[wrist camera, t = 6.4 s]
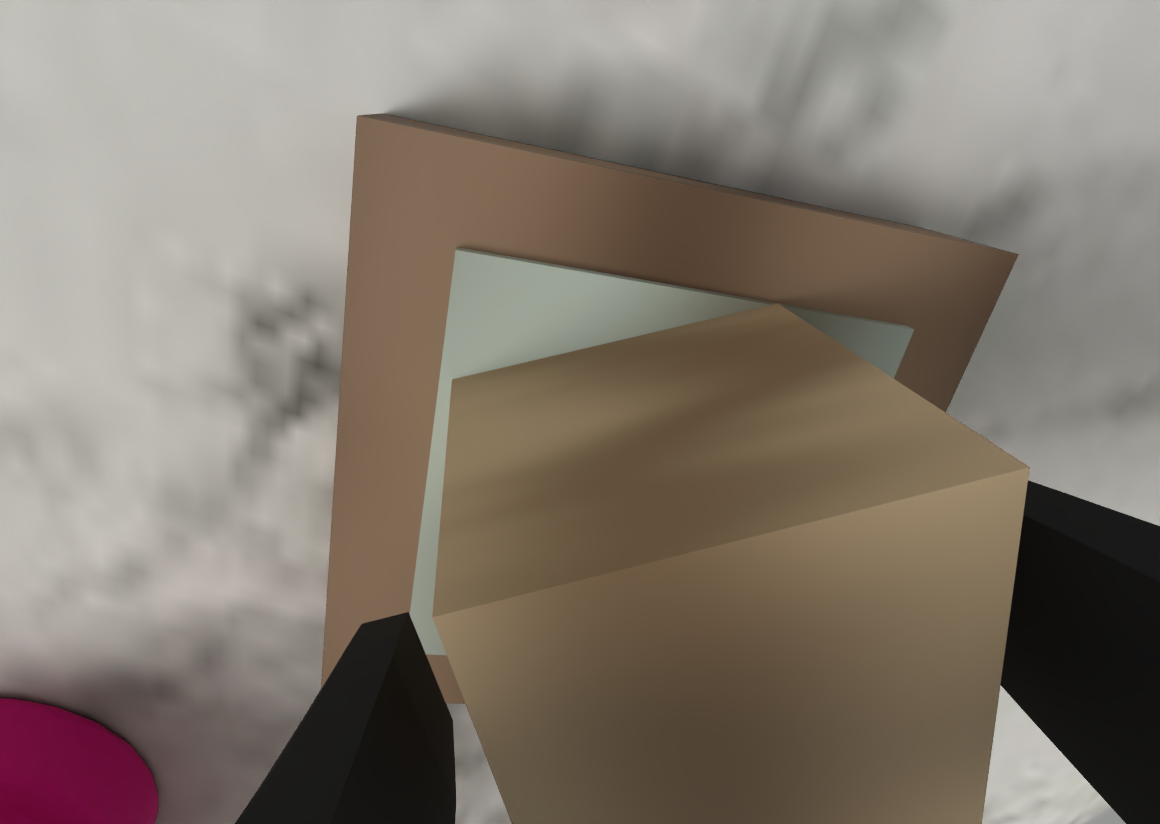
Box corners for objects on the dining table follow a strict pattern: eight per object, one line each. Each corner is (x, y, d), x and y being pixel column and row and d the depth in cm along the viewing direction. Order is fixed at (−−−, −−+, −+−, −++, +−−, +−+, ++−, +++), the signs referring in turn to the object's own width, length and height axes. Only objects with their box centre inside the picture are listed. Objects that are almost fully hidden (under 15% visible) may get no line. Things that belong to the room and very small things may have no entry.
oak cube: (777, 303, 10) (1029, 467, 5) (792, 562, 12) (981, 831, 8) (451, 379, 10) (432, 616, 5) (527, 629, 12) (559, 947, 7)
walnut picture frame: (921, 227, 13) (1028, 256, 10) (761, 630, 16) (811, 721, 14) (382, 113, 10) (354, 116, 8) (344, 606, 14) (318, 707, 12)
